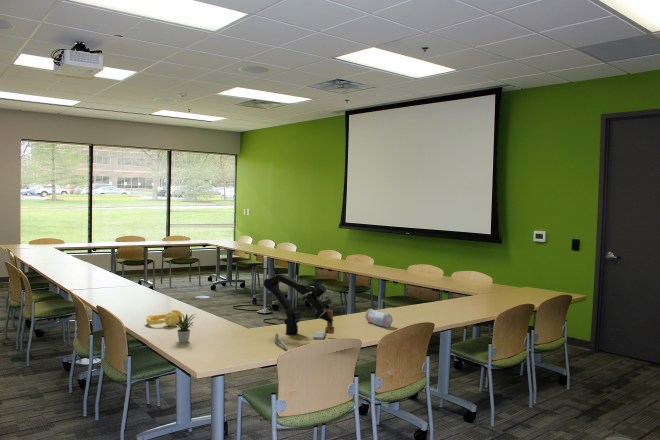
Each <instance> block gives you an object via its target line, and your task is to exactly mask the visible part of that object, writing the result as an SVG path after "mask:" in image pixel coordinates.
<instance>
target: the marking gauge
mask: <svg viewBox="0 0 660 440" xmlns="http://www.w3.org/2000/svg"><path fill="white" fill-rule="evenodd" d="M327 314H328V316H329V317H330V319H331V320H332V323H330V322H328V321H326V326H325V328H324V332H325V335H326V334H327V335H328V334H330V335H335V326H334V325H333V321H334V310H332V309H330V310H328V313H327Z"/></svg>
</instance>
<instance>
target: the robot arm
mask: <svg viewBox="0 0 660 440" xmlns="http://www.w3.org/2000/svg"><path fill="white" fill-rule="evenodd" d="M279 283H282V284H284V285H287V286H289V287H290V288H292V289H294V290H295V291H296V292H297V293H299V294H300V295H301V296H302V298H303V299H302V301H303V302H305V301H307V302H308V303H309V305H311V308H312V309H314V310H315V311H316V312H315V314H314V317H315V319H318V318H319V319H320V320H323V321H325V322H327V321H328V322H330V323H332V320H331V319H330V317H329V316H328V314H327V313H328V310H331V309H330V308H331V304H332V303H333V300H332V299H333V298H332V297H330V296H326V297H325V299H323V300H322V299H319V298H321V296H323V295H324V294H325V293H326V292H327V288H326V286H325V285H323V284H321V283H320V282H317V283H316V285H314V286H311V284H309V283H305V282H300V281H297V280H295V279H294V278H291V277H290V276H286V275H285V274H284V273H281V274H277V275H275V276H273V277H269V278H266V279H264V281H263V287H265V288H266V290H268V291H269V292H270V293H272V294H273V296H274V297H275V298H276V300H277V301H278V303H279V304H280V305H281V306H282V308H283V309H284V311H285V315H286V318H284V320H283V322H284V325H285V332H284V333H285V335H290V336H291V335H293V336H296V335H297V334H298V333H299V325H298V323H300V320H301V318H302V312H301V311H300V310H299V307H297V306H296V307H294V306H292V303H290V302H289V300H288V299H287V297H286V296H285V295H284V293H283V292H282V291H281V289H280V286H279Z"/></svg>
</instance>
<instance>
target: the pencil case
mask: <svg viewBox="0 0 660 440" xmlns="http://www.w3.org/2000/svg"><path fill="white" fill-rule="evenodd" d="M364 318H365V320H366V322H367V323H370V324H373V325H377V326H378V327H384V328H390V326H391V325H392V323H393V320H394V319H393V316H392V315H391V314H390V313H386V312H380V311H377V310H374V309H373V308H368V309H367V310H366V313H365V316H364Z"/></svg>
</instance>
